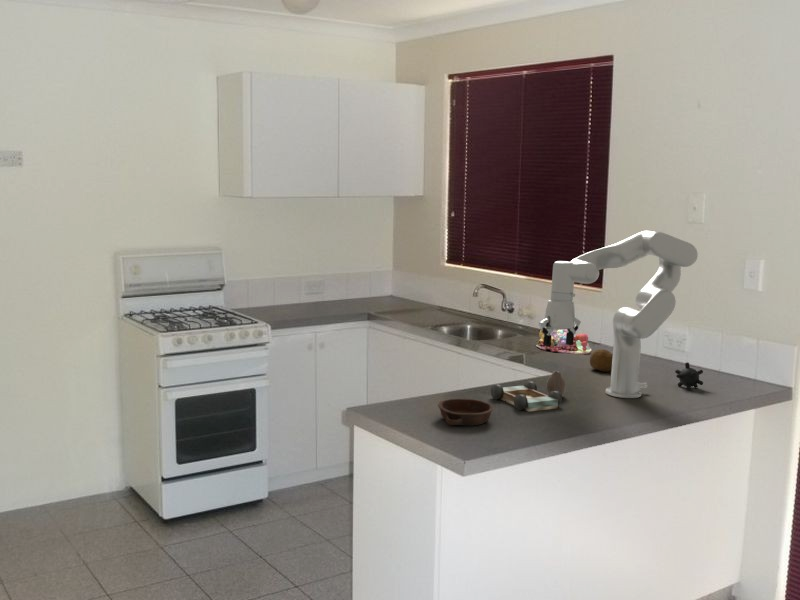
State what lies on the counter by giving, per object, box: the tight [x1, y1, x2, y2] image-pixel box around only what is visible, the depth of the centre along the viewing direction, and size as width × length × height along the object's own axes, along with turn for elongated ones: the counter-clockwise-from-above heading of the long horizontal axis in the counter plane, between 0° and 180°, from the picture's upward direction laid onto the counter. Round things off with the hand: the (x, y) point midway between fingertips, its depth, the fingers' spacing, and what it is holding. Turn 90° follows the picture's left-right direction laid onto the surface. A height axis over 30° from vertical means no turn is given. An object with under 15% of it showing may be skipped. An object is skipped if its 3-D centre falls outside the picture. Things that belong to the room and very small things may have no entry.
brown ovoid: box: [545, 371, 567, 397], centre depth 306 cm, size 7×7×9 cm
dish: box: [437, 398, 495, 427], centre depth 273 cm, size 18×22×5 cm
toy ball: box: [674, 361, 704, 391], centre depth 326 cm, size 10×10×11 cm
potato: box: [589, 349, 613, 373], centre depth 349 cm, size 8×12×9 cm
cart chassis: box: [490, 380, 563, 413], centre depth 297 cm, size 16×20×5 cm
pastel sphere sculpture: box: [535, 327, 592, 355], centre depth 393 cm, size 25×24×9 cm
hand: (558, 345), depth 304 cm, fingers open, 9 cm apart
